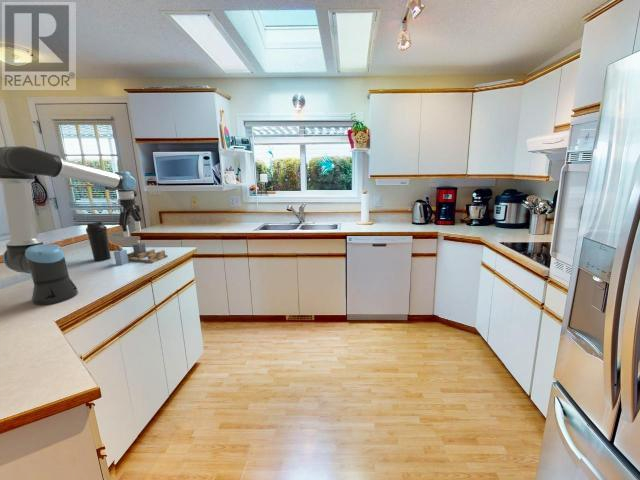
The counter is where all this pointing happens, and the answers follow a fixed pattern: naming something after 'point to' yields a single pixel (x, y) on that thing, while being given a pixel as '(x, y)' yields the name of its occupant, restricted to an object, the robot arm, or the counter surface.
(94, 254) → the water bottle
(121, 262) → the plug blue
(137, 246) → the plug charcoal
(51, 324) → the counter surface
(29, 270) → the robot arm
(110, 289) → the counter surface
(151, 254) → the slot rack
